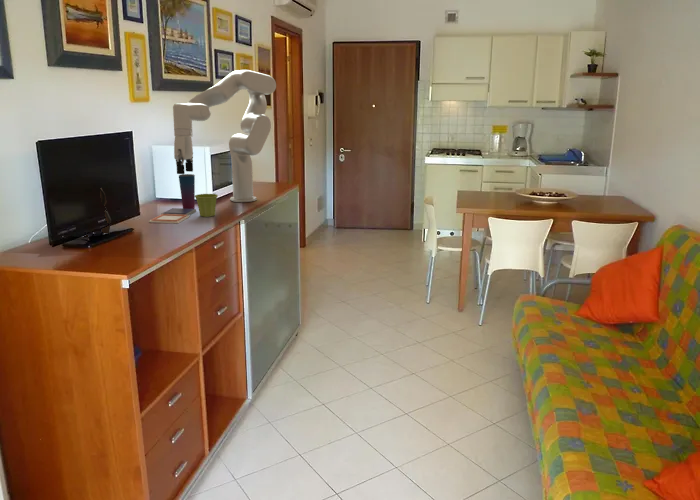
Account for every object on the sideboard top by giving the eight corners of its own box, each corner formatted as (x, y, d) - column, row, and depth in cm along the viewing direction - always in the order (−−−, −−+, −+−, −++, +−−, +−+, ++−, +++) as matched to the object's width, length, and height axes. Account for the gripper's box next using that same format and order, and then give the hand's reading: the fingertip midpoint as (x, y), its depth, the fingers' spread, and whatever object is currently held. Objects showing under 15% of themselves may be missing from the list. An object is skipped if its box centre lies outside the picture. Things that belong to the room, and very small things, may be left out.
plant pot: (196, 213, 242) (194, 193, 239) (218, 213, 244) (217, 193, 242) (195, 218, 233) (194, 197, 231) (219, 217, 235) (218, 196, 233)
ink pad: (172, 210, 248) (171, 207, 247) (196, 211, 247) (196, 208, 246) (161, 215, 237) (161, 212, 237) (186, 216, 236) (186, 213, 236)
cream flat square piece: (161, 216, 237) (161, 213, 236) (189, 217, 235) (189, 214, 235) (149, 222, 225) (148, 219, 225) (178, 223, 224) (177, 220, 224)
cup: (198, 207, 255) (196, 174, 251) (193, 210, 249) (191, 176, 245) (184, 207, 256) (182, 174, 252) (178, 209, 249) (176, 176, 245)
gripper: (182, 131, 252) (184, 170, 256) (166, 133, 235) (168, 174, 240) (199, 132, 251) (200, 170, 256) (183, 134, 235) (185, 175, 239)
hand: (185, 172), depth 248 cm, fingers open, 9 cm apart
